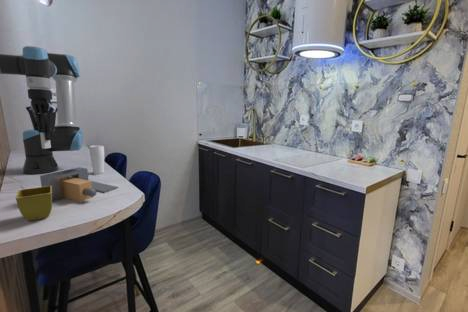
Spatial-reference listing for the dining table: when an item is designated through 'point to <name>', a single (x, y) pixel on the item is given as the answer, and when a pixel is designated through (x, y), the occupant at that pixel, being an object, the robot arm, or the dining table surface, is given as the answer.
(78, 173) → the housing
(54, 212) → the dining table surface
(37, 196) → the flower pot
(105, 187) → the mat
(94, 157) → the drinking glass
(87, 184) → the plug
